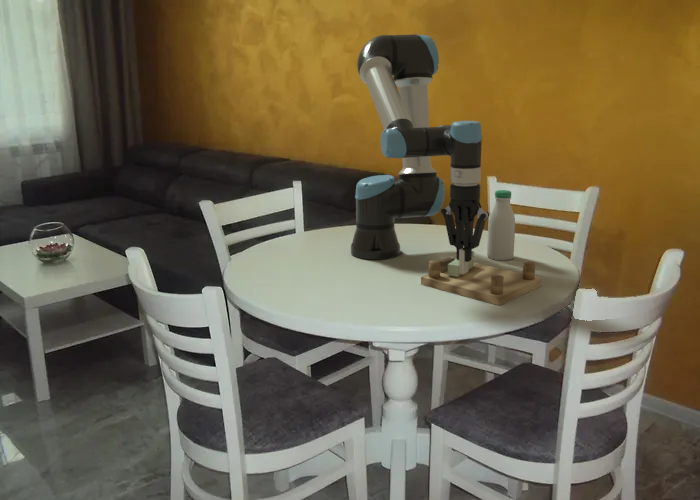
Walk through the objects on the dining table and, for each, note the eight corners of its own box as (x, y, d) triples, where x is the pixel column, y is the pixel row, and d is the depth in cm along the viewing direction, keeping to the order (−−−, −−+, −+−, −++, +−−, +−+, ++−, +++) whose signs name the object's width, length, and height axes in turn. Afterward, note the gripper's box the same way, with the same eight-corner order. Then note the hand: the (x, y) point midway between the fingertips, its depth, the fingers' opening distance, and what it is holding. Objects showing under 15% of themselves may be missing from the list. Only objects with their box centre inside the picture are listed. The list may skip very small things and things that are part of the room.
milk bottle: (513, 261, 196) (517, 194, 190) (486, 260, 197) (489, 193, 192) (513, 254, 203) (516, 189, 197) (487, 253, 204) (489, 188, 199)
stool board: (420, 284, 177) (421, 262, 176) (465, 267, 191) (465, 246, 189) (499, 305, 161) (500, 281, 159) (541, 285, 175) (543, 263, 173)
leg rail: (465, 263, 187) (466, 249, 186) (475, 265, 185) (476, 251, 184) (447, 275, 177) (447, 261, 176) (458, 277, 175) (458, 262, 174)
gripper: (435, 183, 171) (434, 272, 177) (481, 188, 163) (479, 280, 169) (450, 179, 176) (449, 265, 183) (495, 183, 169) (492, 273, 175)
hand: (463, 272), depth 176 cm, fingers closed
